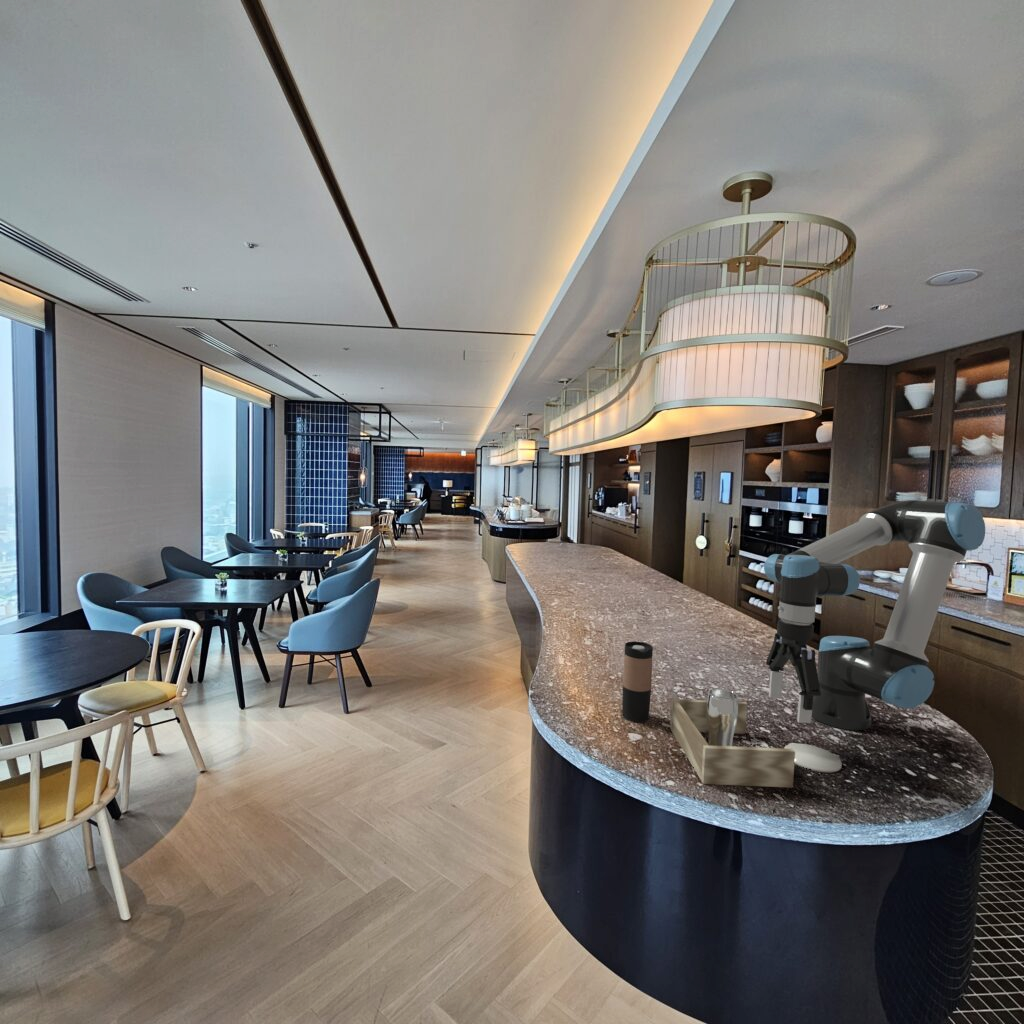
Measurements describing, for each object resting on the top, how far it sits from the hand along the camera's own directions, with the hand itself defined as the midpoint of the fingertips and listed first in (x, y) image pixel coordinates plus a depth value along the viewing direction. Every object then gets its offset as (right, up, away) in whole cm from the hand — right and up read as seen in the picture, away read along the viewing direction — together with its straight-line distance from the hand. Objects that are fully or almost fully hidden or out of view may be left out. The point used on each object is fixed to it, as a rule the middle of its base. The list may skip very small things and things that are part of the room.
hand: (788, 709), depth 125 cm
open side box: (-14, -11, +1) cm, 18 cm away
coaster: (+6, -12, +1) cm, 14 cm away
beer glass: (-16, -12, +1) cm, 20 cm away
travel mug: (-32, -10, +20) cm, 39 cm away
